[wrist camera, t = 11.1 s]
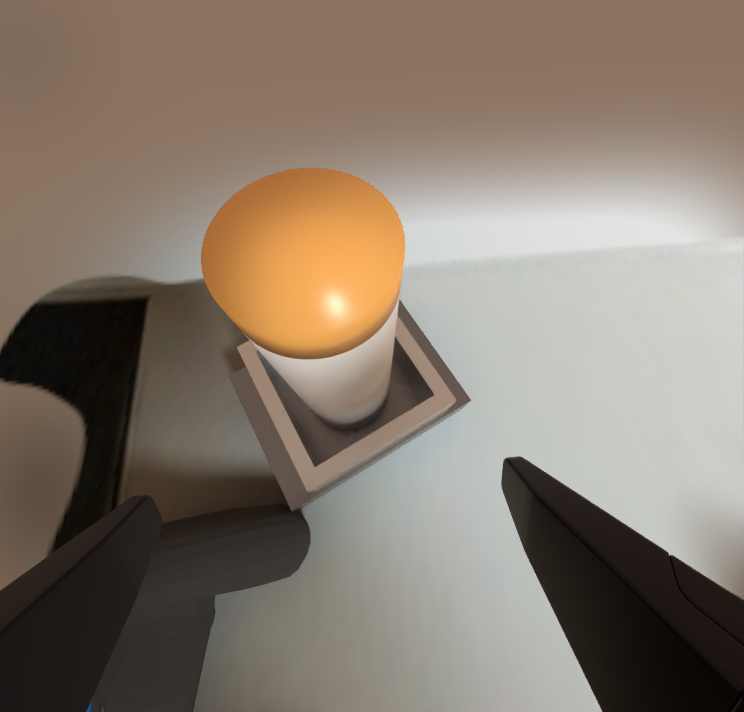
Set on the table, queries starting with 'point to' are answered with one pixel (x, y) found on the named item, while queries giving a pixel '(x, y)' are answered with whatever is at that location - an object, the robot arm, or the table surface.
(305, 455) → the grey stepped open box
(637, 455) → the table surface
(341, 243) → the orange lidded white canister
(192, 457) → the table surface
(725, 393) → the table surface
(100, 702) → the gaming controller
